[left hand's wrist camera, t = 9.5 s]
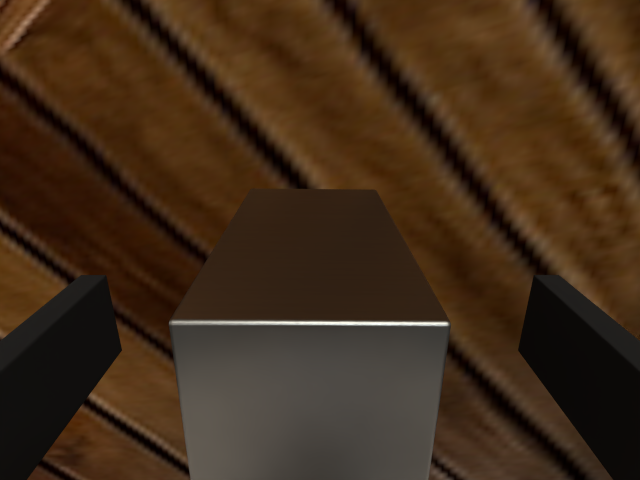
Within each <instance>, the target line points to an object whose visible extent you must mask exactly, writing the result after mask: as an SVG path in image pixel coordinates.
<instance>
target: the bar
mask: <svg viewBox="0 0 640 480" xmlns="http://www.w3.org/2000/svg"><path fill="white" fill-rule="evenodd" d="M450 327H451V323H450V321H449V319H448V317H447V315H446V314H445V312H444V310H443V308H442V306H441V305H440V303H439V301H438V299H437V298H436V296H435V294H434V292H433V290H432V289H431V287H430V285H429V283H428V282H427V280H426V278H425V276H424V274H423V273H422V271H421V269H420V267H419V266H418V264H417V262H416V260H415V259H414V257H413V255H412V253H411V251H410V250H409V248H408V246H407V244H406V243H405V241H404V239H403V237H402V235H401V234H400V232H399V230H398V228H397V227H396V225H395V223H394V221H393V219H392V218H391V216H390V214H389V212H388V211H387V209H386V207H385V205H384V203H383V202H382V200H381V198H380V196H379V195H378V193H377V191H376V190H340V189H251V190H250V191H249V193H248V195H247V196H246V198H245V199H244V201H243V203H242V204H241V206H240V207H239V209H238V211H237V212H236V214H235V216H234V217H233V219H232V220H231V222H230V224H229V225H228V227H227V228H226V230H225V232H224V233H223V235H222V237H221V238H220V240H219V241H218V243H217V245H216V246H215V248H214V249H213V251H212V253H211V254H210V256H209V258H208V259H207V261H206V262H205V264H204V266H203V267H202V269H201V270H200V272H199V274H198V275H197V277H196V278H195V280H194V282H193V283H192V285H191V287H190V288H189V290H188V291H187V293H186V295H185V296H184V298H183V299H182V301H181V303H180V304H179V306H178V308H177V309H176V311H175V312H174V314H173V316H172V317H171V319H170V321H169V328H170V335H171V342H172V349H173V357H174V364H175V371H176V378H177V385H178V392H179V400H180V407H181V414H182V421H183V428H184V435H185V443H186V450H187V457H188V464H189V471H190V478H191V480H428V478H429V471H430V464H431V457H432V450H433V444H434V437H435V430H436V423H437V416H438V409H439V402H440V396H441V389H442V382H443V375H444V368H445V361H446V354H447V348H448V341H449V334H450Z"/></svg>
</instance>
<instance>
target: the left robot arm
mask: <svg viewBox="0 0 640 480" xmlns="http://www.w3.org/2000/svg"><path fill="white" fill-rule="evenodd" d="M121 351H122V348H121V344H120V339H119V334H118V329H117V325H116V320H115V315H114V310H113V306H112V301H111V296H110V291H109V287H108V282H107V277H106V275H81V276H80V277H78V278H77V279H76V280H75V281H73V282H72V283H71V284H70V285H69V286H67V287H66V288H65V289H64V290H62V291H61V292H60V293H59V294H57V295H56V296H55V297H54V298H53V299H51V300H50V301H49V302H48V303H46V304H45V305H44V306H43V307H41V308H40V309H39V310H38V311H37V312H35V313H34V314H33V315H32V316H30V317H29V318H28V319H27V320H26V321H24V322H23V323H22V324H21V325H19V326H18V327H17V328H16V329H14V330H13V331H12V332H11V333H10V334H8V335H7V336H6V337H5V338H3V339H2V340H1V341H0V480H27V479H28V477H29V476H30V474H31V473H32V472H33V470H34V469H35V468H36V466H37V465H38V464H39V462H40V461H41V459H42V458H43V457H44V455H45V454H46V453H47V451H48V450H49V449H50V447H51V446H52V445H53V443H54V442H55V440H56V439H57V438H58V436H59V435H60V434H61V432H62V431H63V430H64V428H65V427H66V426H67V424H68V423H69V421H70V420H71V419H72V417H73V416H74V415H75V413H76V412H77V411H78V409H79V408H80V406H81V405H82V404H83V402H84V401H85V400H86V398H87V397H88V396H89V394H90V393H91V392H92V390H93V389H94V387H95V386H96V385H97V383H98V382H99V381H100V379H101V378H102V377H103V375H104V374H105V373H106V371H107V370H108V368H109V367H110V366H111V364H112V363H113V362H114V360H115V359H116V358H117V356H118V355H119V353H120V352H121ZM518 351H519V352H520V353H521V355H522V356H523V358H524V359H525V360H526V362H527V363H528V364H529V366H530V367H531V368H532V370H533V371H534V373H535V374H536V375H537V377H538V378H539V379H540V381H541V382H542V383H543V385H544V386H545V387H546V389H547V390H548V392H549V393H550V394H551V396H552V397H553V398H554V400H555V401H556V402H557V404H558V405H559V406H560V408H561V409H562V411H563V412H564V413H565V415H566V416H567V417H568V419H569V420H570V421H571V423H572V424H573V426H574V427H575V428H576V430H577V431H578V432H579V434H580V435H581V436H582V438H583V439H584V440H585V442H586V443H587V445H588V446H589V447H590V449H591V450H592V451H593V453H594V454H595V455H596V457H597V458H598V459H599V461H600V462H601V464H602V465H603V466H604V468H605V469H606V470H607V472H608V473H609V474H610V476H611V477H612V479H613V480H640V341H639V340H638V339H637V338H635V337H634V336H633V335H632V334H630V333H629V332H628V331H627V330H626V329H624V328H623V327H622V326H621V325H619V324H618V323H617V322H616V321H614V320H613V319H612V318H611V317H610V316H608V315H607V314H606V313H605V312H603V311H602V310H601V309H600V308H599V307H597V306H596V305H595V304H594V303H592V302H591V301H590V300H589V299H587V298H586V297H585V296H584V295H583V294H581V293H580V292H579V291H578V290H576V289H575V288H574V287H573V286H571V285H570V284H569V283H568V282H567V281H565V280H564V279H563V278H562V277H560V276H559V275H534V277H533V282H532V287H531V291H530V296H529V301H528V306H527V310H526V315H525V320H524V325H523V329H522V334H521V339H520V344H519V348H518Z"/></svg>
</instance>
